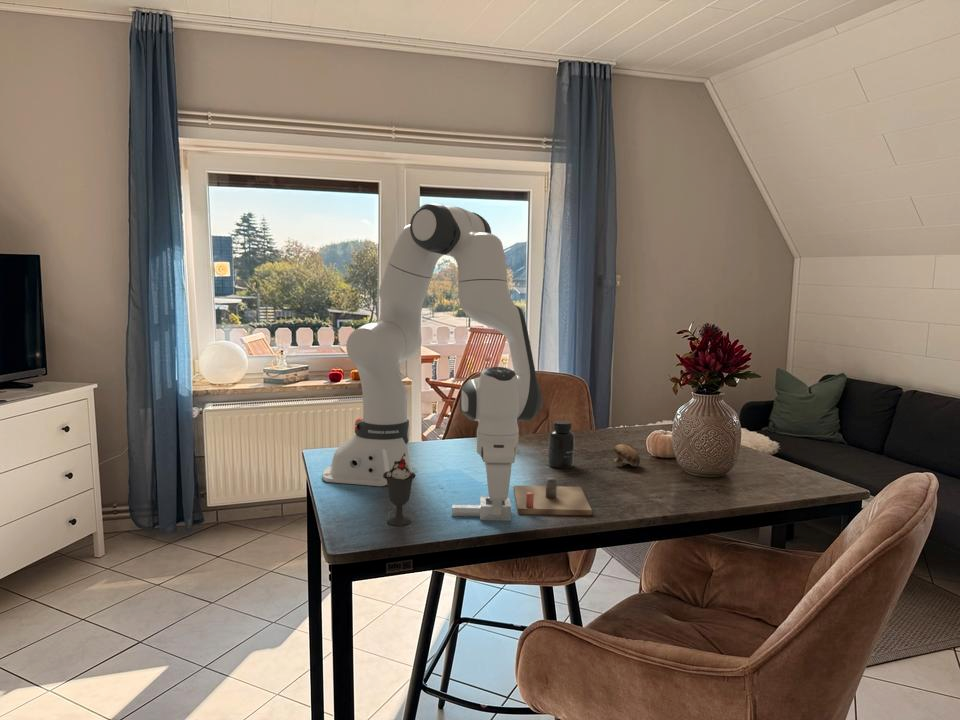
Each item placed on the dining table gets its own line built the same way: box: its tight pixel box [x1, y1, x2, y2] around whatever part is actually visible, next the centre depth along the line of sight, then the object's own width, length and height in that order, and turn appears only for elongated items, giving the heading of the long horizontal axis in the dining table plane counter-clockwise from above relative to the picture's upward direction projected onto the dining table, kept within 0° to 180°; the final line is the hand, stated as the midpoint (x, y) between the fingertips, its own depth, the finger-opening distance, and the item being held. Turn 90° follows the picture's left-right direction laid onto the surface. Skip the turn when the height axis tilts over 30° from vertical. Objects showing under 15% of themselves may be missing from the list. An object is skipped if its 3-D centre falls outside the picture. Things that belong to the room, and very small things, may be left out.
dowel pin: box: [526, 492, 534, 508], centre depth 152 cm, size 2×2×3 cm
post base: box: [513, 476, 593, 516], centre depth 159 cm, size 16×16×6 cm
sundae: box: [383, 453, 417, 527], centre depth 144 cm, size 7×7×15 cm
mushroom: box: [613, 443, 641, 468], centre depth 190 cm, size 8×8×6 cm
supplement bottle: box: [547, 420, 575, 469], centre depth 188 cm, size 7×7×12 cm
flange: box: [451, 495, 512, 522], centre depth 150 cm, size 12×6×3 cm, turn 91°
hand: (495, 507), depth 150 cm, fingers closed on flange, 6 cm apart
